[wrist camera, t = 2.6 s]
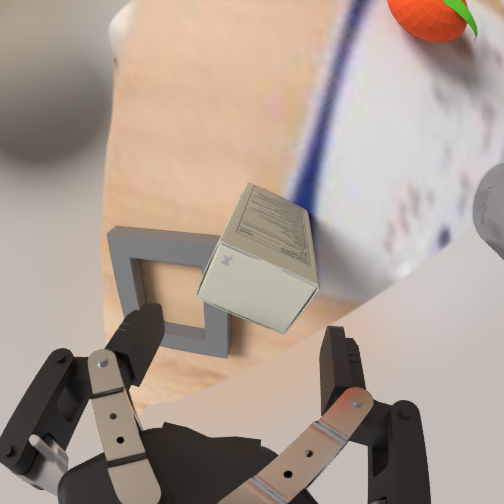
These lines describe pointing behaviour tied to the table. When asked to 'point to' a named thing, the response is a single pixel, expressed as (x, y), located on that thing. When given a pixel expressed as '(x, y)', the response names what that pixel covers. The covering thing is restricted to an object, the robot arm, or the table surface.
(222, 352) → the holder
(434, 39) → the clementine
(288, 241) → the skincare box
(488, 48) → the table surface
